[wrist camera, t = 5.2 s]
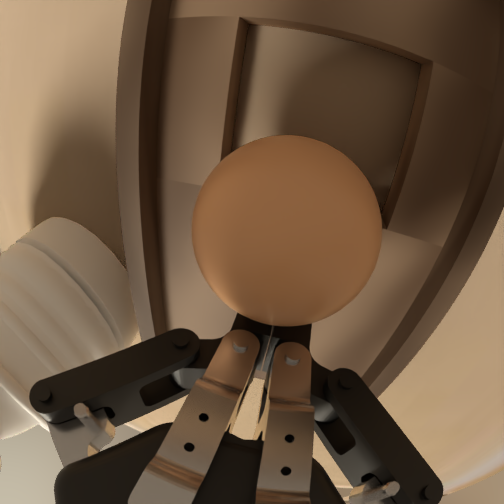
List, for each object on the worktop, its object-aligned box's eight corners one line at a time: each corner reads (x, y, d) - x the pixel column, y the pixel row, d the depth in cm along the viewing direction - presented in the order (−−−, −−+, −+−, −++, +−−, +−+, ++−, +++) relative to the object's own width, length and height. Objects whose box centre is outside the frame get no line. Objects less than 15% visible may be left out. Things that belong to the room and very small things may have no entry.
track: (502, -12, 4) (532, -22, 1) (360, 382, 19) (360, 414, 17) (186, -80, 6) (158, -102, 3) (163, 332, 21) (146, 360, 19)
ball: (356, 262, 13) (392, 137, 9) (343, 380, 8) (430, 224, 4) (233, 233, 14) (234, 109, 10) (171, 330, 9) (133, 165, 6)
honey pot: (174, 316, 20) (57, 535, 5) (106, 348, 26) (26, 480, 11) (58, 184, 16) (-128, 354, 1) (25, 259, 22) (-79, 376, 8)
